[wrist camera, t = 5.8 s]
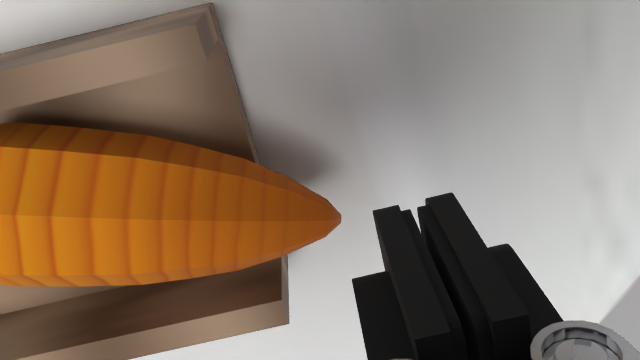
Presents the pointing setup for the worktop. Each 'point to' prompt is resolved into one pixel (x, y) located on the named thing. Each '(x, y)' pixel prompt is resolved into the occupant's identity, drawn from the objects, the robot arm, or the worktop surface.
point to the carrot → (140, 209)
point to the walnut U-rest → (146, 119)
